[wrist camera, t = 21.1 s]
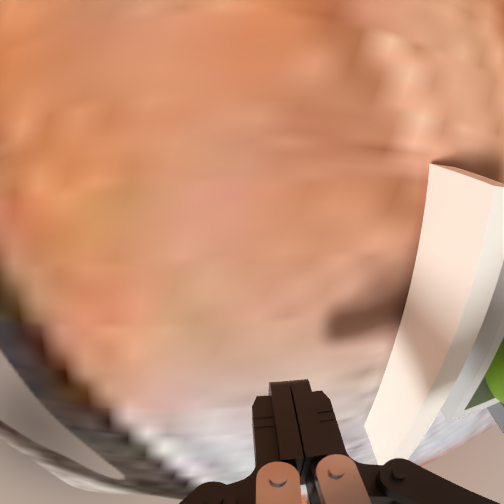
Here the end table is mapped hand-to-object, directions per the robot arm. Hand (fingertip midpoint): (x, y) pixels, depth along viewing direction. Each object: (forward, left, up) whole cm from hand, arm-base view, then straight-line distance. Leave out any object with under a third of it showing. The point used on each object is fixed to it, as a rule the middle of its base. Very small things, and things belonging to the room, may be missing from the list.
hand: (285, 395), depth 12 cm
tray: (0, +15, -3) cm, 15 cm away
